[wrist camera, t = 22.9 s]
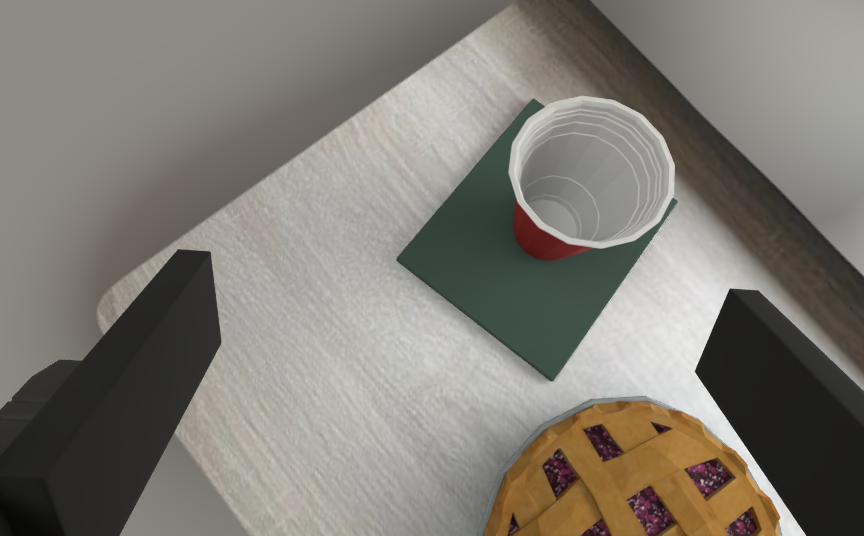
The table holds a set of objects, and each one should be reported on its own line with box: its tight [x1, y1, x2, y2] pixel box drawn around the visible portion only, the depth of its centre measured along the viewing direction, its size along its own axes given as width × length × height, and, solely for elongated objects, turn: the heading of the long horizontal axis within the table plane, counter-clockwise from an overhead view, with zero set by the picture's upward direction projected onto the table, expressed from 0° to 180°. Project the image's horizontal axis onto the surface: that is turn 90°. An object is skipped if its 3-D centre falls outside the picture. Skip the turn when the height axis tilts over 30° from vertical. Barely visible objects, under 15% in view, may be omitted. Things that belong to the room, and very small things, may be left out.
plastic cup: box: [508, 96, 675, 261], centre depth 40 cm, size 11×11×12 cm
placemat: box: [397, 99, 678, 381], centre depth 46 cm, size 16×20×1 cm
